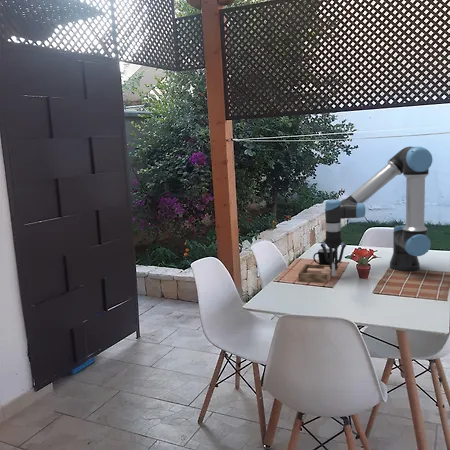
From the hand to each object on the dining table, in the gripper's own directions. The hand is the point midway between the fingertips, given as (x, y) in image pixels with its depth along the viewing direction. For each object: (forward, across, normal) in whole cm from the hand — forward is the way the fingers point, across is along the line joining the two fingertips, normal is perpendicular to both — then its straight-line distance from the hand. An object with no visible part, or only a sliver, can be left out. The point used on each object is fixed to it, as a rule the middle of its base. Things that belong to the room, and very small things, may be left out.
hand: (333, 275), depth 241 cm
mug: (+2, +8, -18) cm, 20 cm away
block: (+1, +8, 0) cm, 8 cm away
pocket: (+1, +9, 0) cm, 9 cm away
